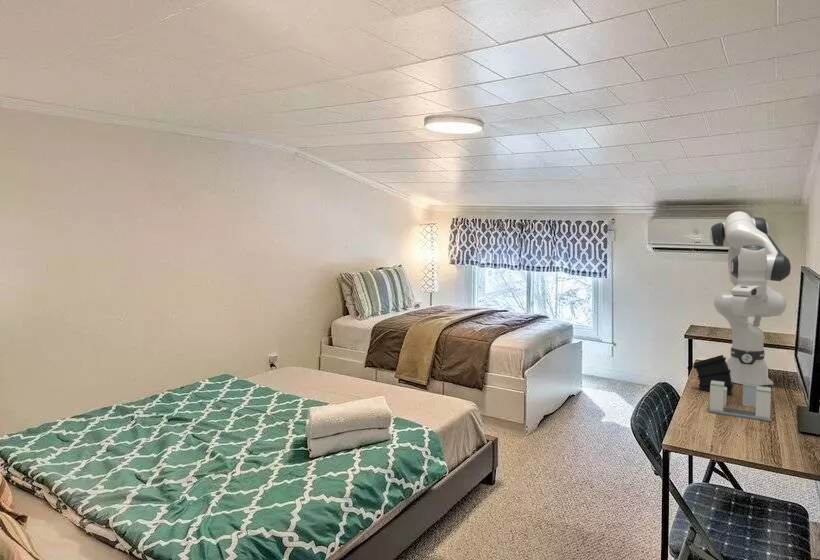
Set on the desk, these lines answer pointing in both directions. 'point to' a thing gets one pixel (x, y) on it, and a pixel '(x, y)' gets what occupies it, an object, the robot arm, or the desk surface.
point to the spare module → (725, 395)
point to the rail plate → (740, 413)
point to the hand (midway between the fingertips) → (750, 327)
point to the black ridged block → (713, 373)
